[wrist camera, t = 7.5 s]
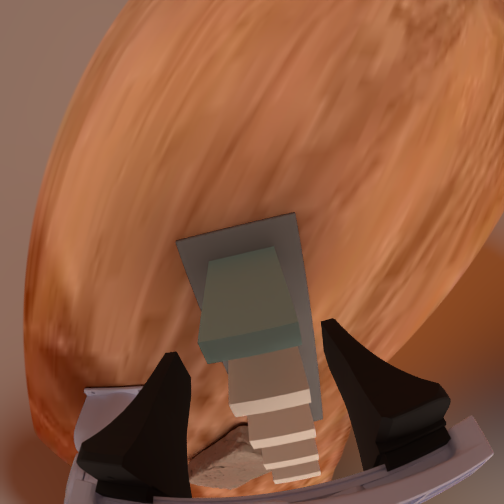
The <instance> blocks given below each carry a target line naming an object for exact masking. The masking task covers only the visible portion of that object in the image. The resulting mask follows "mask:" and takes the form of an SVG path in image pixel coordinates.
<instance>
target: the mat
mask: <svg viewBox="0 0 504 504" xmlns="http://www.w3.org/2000/svg"><path fill="white" fill-rule="evenodd" d="M175 243H176V245H177V248H178V251H179V254H180V257H181V259H182V262H183V265H184V268H185V270H186V273H187V276H188V278H189V281H190V284H191V286H192V289H193V292H194V294H195V297H196V299H197V302H198V304H199V307H200V309H201V312H202V305H203V298H204V291H205V284H206V277H207V271H208V264H209V261H213V260H217V259H221V258H225V257H230V256H234V255H238V254H243V253H247V252H251V251H255V250H260V249H264V248H268V247H273V246H274V248H275V251H276V254H277V257H278V260H279V263H280V266H281V269H282V272H283V275H284V278H285V281H286V284H287V287H288V290H289V294H290V297H291V300H292V303H293V306H294V309H295V312H296V315H297V319H298V322H299V328H300V334H301V340H302V345H300V346H298V349H299V353H300V356H301V360H302V363H303V367H304V371H305V374H306V378H307V382H308V385H309V389H310V396H311V403H309V407H310V410H311V414H312V418H313V421H317V420H321V419H323V414H322V403H321V392H320V382H319V373H318V364H317V355H316V347H315V339H314V331H313V323H312V316H311V308H310V301H309V294H308V287H307V281H306V274H305V268H304V261H303V255H302V249H301V243H300V237H299V232H298V226H297V220H296V215H295V212H293V213H289V214H285V215H280V216H276V217H271V218H267V219H263V220H258V221H254V222H250V223H246V224H242V225H237V226H233V227H229V228H225V229H221V230H217V231H213V232H209V233H205V234H201V235H197V236H193V237H189V238H185V239H181V240H177V241H176V242H175ZM222 362H223V364H224V366H225V369H226V371H227V373H228V361H222Z"/></svg>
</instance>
